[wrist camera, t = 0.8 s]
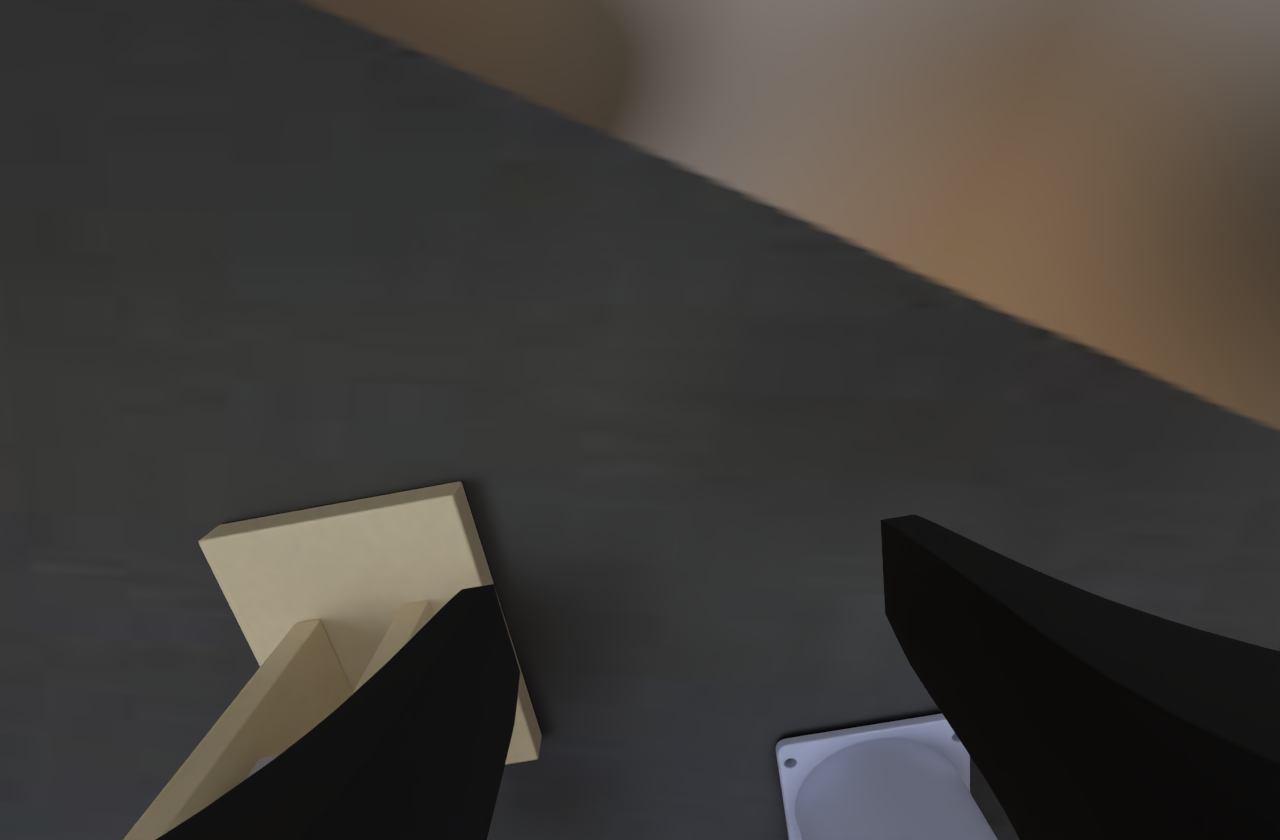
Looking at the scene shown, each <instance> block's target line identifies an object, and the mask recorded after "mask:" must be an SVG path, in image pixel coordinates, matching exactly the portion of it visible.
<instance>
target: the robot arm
mask: <svg viewBox="0 0 1280 840" xmlns="http://www.w3.org/2000/svg"><path fill="white" fill-rule="evenodd" d="M881 535H882V555H883V575H884V595H885V614H886V616H887V618H888V620H889V622H890V624H891V626H892V629H893V631H894V633H895V635H896V637H897V639H898V641H899V643H900V645H901V647H902V649H903V651H904V653H905V655H906V657H907V659H908V661H909V663H910V665H911V666H912V668H913V669H914V671H915V673H916V674H917V676H918V677H919V679H920V680H921V682H922V683H923V685H924V686H925V688H926V690H927V691H928V693H929V694H930V696H931V697H932V699H933V700H934V702H935V703H936V705H937V706H938V708H939V709H940V711H941V713H942V714H935V715H929V716H923V717H916V718H910V719H904V720H898V721H891V722H885V723H879V724H873V725H866V726H860V727H854V728H848V729H841V730H835V731H829V732H823V733H816V734H810V735H804V736H798V737H791V738H785V739H782V740H781V741H779V742H778V743H777V745H776V756H777V763H778V770H779V777H780V783H781V790H782V797H783V804H784V811H785V818H786V824H787V831H788V838H789V840H997V838H996V836H995V834H994V833H993V831H992V829H991V828H990V826H989V824H988V823H987V821H986V819H985V817H984V816H983V814H982V812H981V811H980V809H979V807H978V806H977V804H976V802H975V800H974V799H973V797H972V795H971V794H970V756H971V758H972V760H973V761H974V763H975V764H976V766H977V767H978V769H979V770H980V772H981V773H982V775H983V776H984V778H985V779H986V781H987V782H988V784H989V786H990V787H991V789H992V791H993V792H994V794H995V796H996V797H997V799H998V801H999V802H1000V804H1001V806H1002V807H1003V809H1004V811H1005V813H1006V814H1007V816H1008V818H1009V820H1010V822H1011V824H1012V826H1013V828H1014V829H1015V831H1016V833H1017V835H1018V837H1019V839H1020V840H1280V651H1276V650H1272V649H1268V648H1264V647H1260V646H1257V645H1253V644H1249V643H1246V642H1242V641H1238V640H1235V639H1231V638H1228V637H1224V636H1220V635H1217V634H1213V633H1209V632H1206V631H1202V630H1199V629H1196V628H1192V627H1189V626H1186V625H1182V624H1179V623H1176V622H1173V621H1169V620H1166V619H1163V618H1160V617H1158V616H1155V615H1152V614H1149V613H1146V612H1143V611H1140V610H1137V609H1134V608H1131V607H1128V606H1125V605H1122V604H1119V603H1116V602H1114V601H1111V600H1108V599H1105V598H1103V597H1100V596H1097V595H1095V594H1092V593H1089V592H1087V591H1085V590H1082V589H1080V588H1077V587H1075V586H1072V585H1070V584H1067V583H1065V582H1062V581H1060V580H1058V579H1055V578H1053V577H1050V576H1048V575H1045V574H1043V573H1041V572H1039V571H1036V570H1034V569H1032V568H1029V567H1027V566H1025V565H1023V564H1020V563H1018V562H1016V561H1014V560H1012V559H1009V558H1007V557H1005V556H1003V555H1001V554H999V553H997V552H994V551H992V550H990V549H988V548H986V547H984V546H982V545H980V544H978V543H976V542H973V541H971V540H969V539H967V538H965V537H963V536H961V535H959V534H957V533H955V532H953V531H951V530H948V529H946V528H944V527H942V526H940V525H938V524H936V523H934V522H931V521H929V520H927V519H924V518H922V517H920V516H917V515H909V516H903V517H897V518H891V519H885V520H881ZM519 679H520V669H519V666H518V663H517V659H516V656H515V653H514V649H513V646H512V643H511V640H510V636H509V633H508V630H507V626H506V623H505V620H504V616H503V613H502V610H501V607H500V603H499V600H498V597H497V593H496V590H495V587H494V584H491V585H485V586H479V587H472V588H466V589H462V590H461V591H459V592H458V593H457V594H456V595H455V596H454V597H453V598H451V599H450V600H449V601H448V602H447V603H446V604H445V605H444V606H443V607H442V608H441V609H440V610H439V611H438V612H437V613H436V614H435V615H434V616H433V617H432V618H431V619H430V620H429V621H428V622H427V623H426V624H425V625H424V626H423V627H422V628H421V629H420V630H419V631H418V632H417V633H416V634H415V635H414V636H413V637H412V638H411V639H410V640H409V641H408V642H407V643H406V644H405V645H404V646H403V647H402V648H401V649H400V650H399V651H398V652H397V653H396V654H395V655H394V656H393V657H392V658H391V659H390V660H389V661H388V662H387V663H386V664H385V665H384V666H383V667H382V668H381V669H379V670H378V671H377V672H376V673H375V674H374V675H373V676H372V677H371V678H370V679H369V680H368V681H366V682H365V683H364V684H363V685H362V686H361V687H360V688H359V689H358V690H357V691H356V692H354V693H353V694H352V695H351V696H350V697H349V698H348V699H347V700H346V701H345V702H344V703H342V704H341V705H340V706H339V707H338V708H337V709H336V710H334V711H333V712H332V713H331V714H330V715H329V716H328V717H326V718H325V719H324V720H323V721H321V722H320V723H319V724H318V725H317V726H315V727H314V728H313V729H312V730H311V731H309V732H308V733H307V734H306V735H304V736H303V737H302V738H300V739H299V740H298V741H297V742H295V743H294V744H293V745H292V746H290V747H289V748H288V749H286V750H285V751H284V752H283V753H281V754H280V755H279V756H277V757H276V758H275V759H273V760H272V761H271V762H269V763H268V764H267V765H265V766H264V767H262V768H261V769H260V770H258V771H257V772H255V773H254V774H252V775H251V776H250V777H248V778H247V779H245V780H244V781H242V782H241V783H240V784H238V785H237V786H235V787H234V788H233V789H231V790H230V791H228V792H227V793H225V794H224V795H223V796H221V797H220V798H218V799H217V800H215V801H214V802H213V803H211V804H210V805H208V806H207V807H205V808H204V809H202V810H201V811H199V812H198V813H196V814H195V815H193V816H192V817H190V818H189V819H187V820H185V821H184V822H182V823H181V824H179V825H178V826H176V827H175V828H173V829H171V830H170V831H168V832H167V833H165V834H164V835H162V836H160V837H159V838H157V839H156V840H487V836H488V832H489V828H490V824H491V820H492V816H493V812H494V807H495V803H496V799H497V795H498V791H499V787H500V783H501V779H502V775H503V771H504V767H505V763H506V758H507V754H508V750H509V746H510V742H511V737H512V733H513V728H514V724H515V716H516V707H517V699H518V689H519ZM787 759H790V760H787Z"/></svg>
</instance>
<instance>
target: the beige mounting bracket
mask: <svg viewBox="0 0 1280 840" xmlns="http://www.w3.org/2000/svg"><path fill="white" fill-rule="evenodd" d="M199 545H200V547H201V549H202V551H203V553H204V555H205V557H206V559H207V561H208V563H209V565H210V567H211V569H212V571H213V573H214V575H215V577H216V579H217V581H218V583H219V585H220V587H221V589H222V591H223V593H224V595H225V597H226V599H227V601H228V603H229V605H230V607H231V609H232V611H233V613H234V615H235V617H236V619H237V621H238V623H239V625H240V627H241V629H242V631H243V633H244V635H245V637H246V639H247V641H248V643H249V645H250V647H251V649H252V651H253V653H254V655H255V657H256V659H257V661H258V664H259V666H260V668H259V669H258V671H257V672H256V673H255V674H254V676H253V677H252V678H251V679H250V681H249V682H248V683H247V684H246V686H245V687H244V688H243V689H242V691H241V692H240V693H239V694H238V696H237V697H236V698H235V699H234V701H233V702H232V703H231V704H230V706H229V707H228V708H227V709H226V711H225V712H224V713H223V714H222V716H221V717H220V718H219V720H218V721H217V722H216V723H215V725H214V726H213V727H212V728H211V730H210V731H209V732H208V733H207V735H206V736H205V737H204V738H203V740H202V741H201V742H200V743H199V745H198V746H197V747H196V748H195V750H194V751H193V752H192V753H191V755H190V756H189V757H188V758H187V760H186V761H185V762H184V764H183V765H182V766H181V767H180V769H179V770H178V771H177V772H176V774H175V775H174V776H173V777H172V779H171V780H170V781H169V782H168V784H167V785H166V786H165V787H164V789H163V790H162V791H161V792H160V794H159V795H158V796H157V797H156V799H155V800H154V801H153V802H152V804H151V805H150V806H149V807H148V809H147V810H146V811H145V813H144V814H143V815H142V816H141V818H140V819H139V820H138V821H137V823H136V824H135V825H134V826H133V828H132V829H131V830H130V831H129V833H128V834H127V835H126V836H125V838H124V839H123V840H156V839H157V838H159V837H160V836H162V835H164V834H165V833H167V832H168V831H170V830H171V829H173V828H175V827H176V826H178V825H179V824H181V823H182V822H184V821H185V820H187V819H189V818H190V817H192V816H193V815H195V814H196V813H198V812H199V811H201V810H202V809H204V808H205V807H207V806H208V805H210V804H211V803H213V802H214V801H215V800H217V799H218V798H220V797H221V796H223V795H224V794H225V793H227V792H228V791H230V790H231V789H233V788H234V787H235V786H237V785H238V784H240V783H241V782H242V781H244V779H245V778H246V777H247V775H248V774H249V772H250V771H251V770H252V768H253V767H254V766H255V764H256V763H257V761H258V760H259V759H261V758H264V757H270V756H276V755H280V754H281V753H283V752H284V751H285V750H286V749H288V748H289V747H290V746H292V745H293V744H294V743H295V742H297V741H298V740H299V739H300V738H302V737H303V736H304V735H306V734H307V733H308V732H309V731H311V730H312V729H313V728H314V727H315V726H317V725H318V724H319V723H320V722H321V721H323V720H324V719H325V718H326V717H328V716H329V715H330V714H331V713H332V712H333V711H334V710H336V709H337V708H338V707H339V706H340V705H341V704H342V703H344V702H345V701H346V700H347V699H348V698H349V697H350V696H351V695H352V694H353V693H354V692H356V691H357V690H358V689H359V688H360V687H361V686H362V685H363V684H364V683H365V682H366V681H368V680H369V679H370V678H371V677H372V676H373V675H374V674H375V673H376V672H377V671H378V670H379V669H381V668H382V667H383V666H384V665H385V664H386V663H387V662H388V661H389V660H390V659H391V658H392V657H393V656H394V655H395V654H396V653H397V652H398V651H399V650H400V649H401V648H402V647H403V646H404V645H405V644H406V643H407V642H408V641H409V640H410V639H411V638H412V637H413V636H414V635H415V634H416V633H417V632H418V631H419V630H420V629H421V628H422V627H423V626H424V625H425V624H426V623H427V622H428V621H429V620H430V619H431V618H432V617H433V616H434V615H435V614H436V613H437V612H438V611H439V610H440V609H441V608H442V607H443V606H444V605H445V604H446V603H447V602H448V601H449V600H450V599H451V598H453V597H454V596H455V595H456V594H457V593H458V592H459V591H461V590H462V589H466V588H472V587H479V586H485V585H491V584H494V583H493V580H492V577H491V573H490V570H489V567H488V564H487V561H486V558H485V554H484V551H483V548H482V545H481V542H480V539H479V535H478V532H477V529H476V526H475V523H474V520H473V516H472V513H471V510H470V507H469V504H468V501H467V497H466V494H465V491H464V488H463V485H462V482H460V481H459V482H453V483H448V484H442V485H436V486H431V487H425V488H420V489H414V490H409V491H403V492H398V493H392V494H387V495H381V496H376V497H370V498H365V499H359V500H354V501H348V502H343V503H337V504H332V505H326V506H321V507H315V508H310V509H304V510H299V511H293V512H288V513H282V514H277V515H271V516H266V517H260V518H255V519H249V520H244V521H238V522H233V523H227V524H222V525H219V526H217V527H216V528H215V529H213V530H212V531H211V532H210V533H208V534H207V535H206V536H204V537H203V538H202V539H201V540H199ZM494 587H495V586H494ZM495 590H496V589H495ZM496 593H497V592H496ZM497 597H498V596H497ZM498 600H499V599H498ZM499 603H500V602H499ZM500 607H501V605H500ZM501 610H502V608H501ZM502 613H503V611H502ZM503 616H504V615H503ZM504 620H505V618H504ZM505 623H506V621H505ZM506 626H507V624H506ZM507 630H508V627H507ZM508 633H509V630H508ZM509 636H510V634H509ZM510 640H511V637H510ZM511 643H512V640H511ZM512 646H513V643H512ZM513 649H514V646H513ZM514 653H515V649H514ZM515 656H516V653H515ZM516 659H517V656H516ZM517 663H518V666H519V669H520V679H519V689H518V699H517V707H516V716H515V724H514V728H513V733H512V737H511V742H510V746H509V750H508V754H507V758H506V763H505V765H506V764H512V763H518V762H524V761H531V760H536V759H538V756H539V750H540V744H541V737H542V735H541V732H540V729H539V725H538V722H537V719H536V716H535V713H534V710H533V706H532V703H531V700H530V697H529V694H528V691H527V687H526V684H525V681H524V678H523V675H522V672H521V668H520V665H519V662H518V659H517Z"/></svg>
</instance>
